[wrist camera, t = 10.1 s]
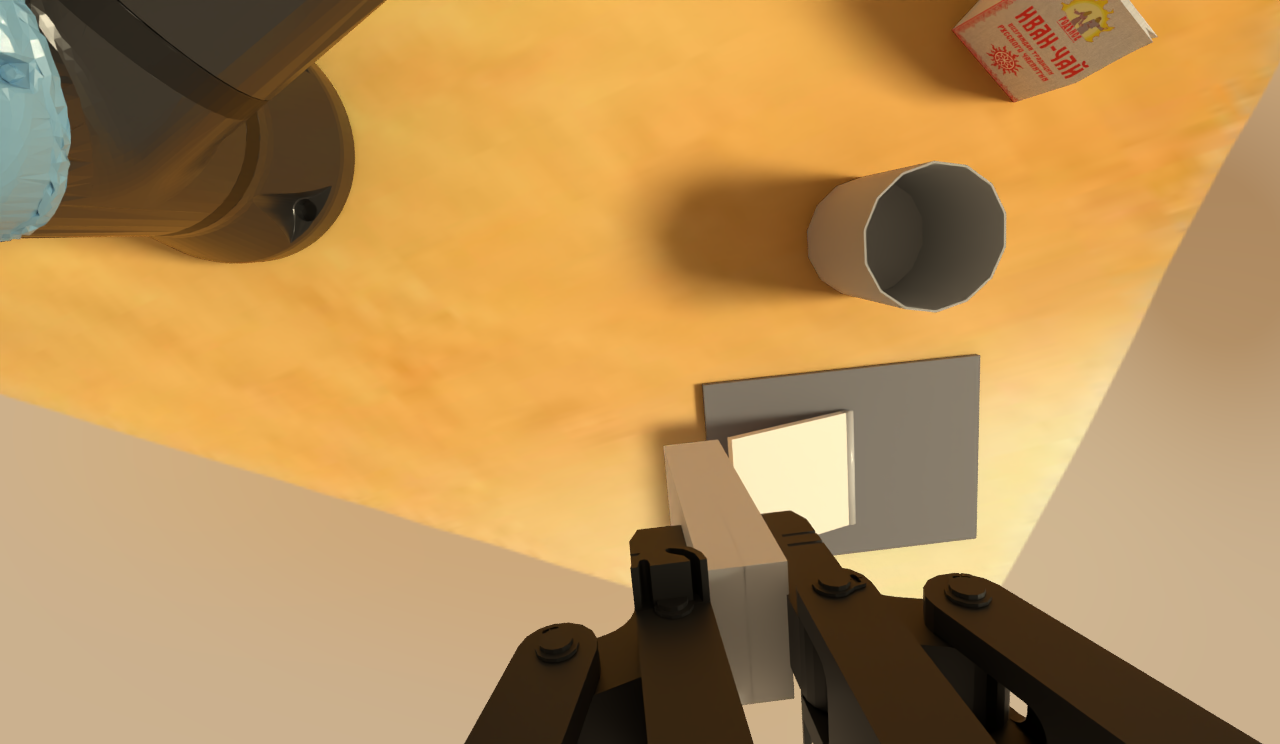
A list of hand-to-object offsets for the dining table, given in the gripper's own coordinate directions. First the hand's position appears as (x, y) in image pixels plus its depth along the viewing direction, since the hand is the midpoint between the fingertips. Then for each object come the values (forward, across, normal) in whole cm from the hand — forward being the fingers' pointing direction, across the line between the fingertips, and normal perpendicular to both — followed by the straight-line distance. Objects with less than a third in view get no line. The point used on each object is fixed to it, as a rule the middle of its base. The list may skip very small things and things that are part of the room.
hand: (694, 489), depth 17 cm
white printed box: (+30, +27, +17) cm, 44 cm away
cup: (+30, +17, +5) cm, 35 cm away
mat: (+29, +15, -12) cm, 35 cm away
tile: (+26, +11, -12) cm, 31 cm away
